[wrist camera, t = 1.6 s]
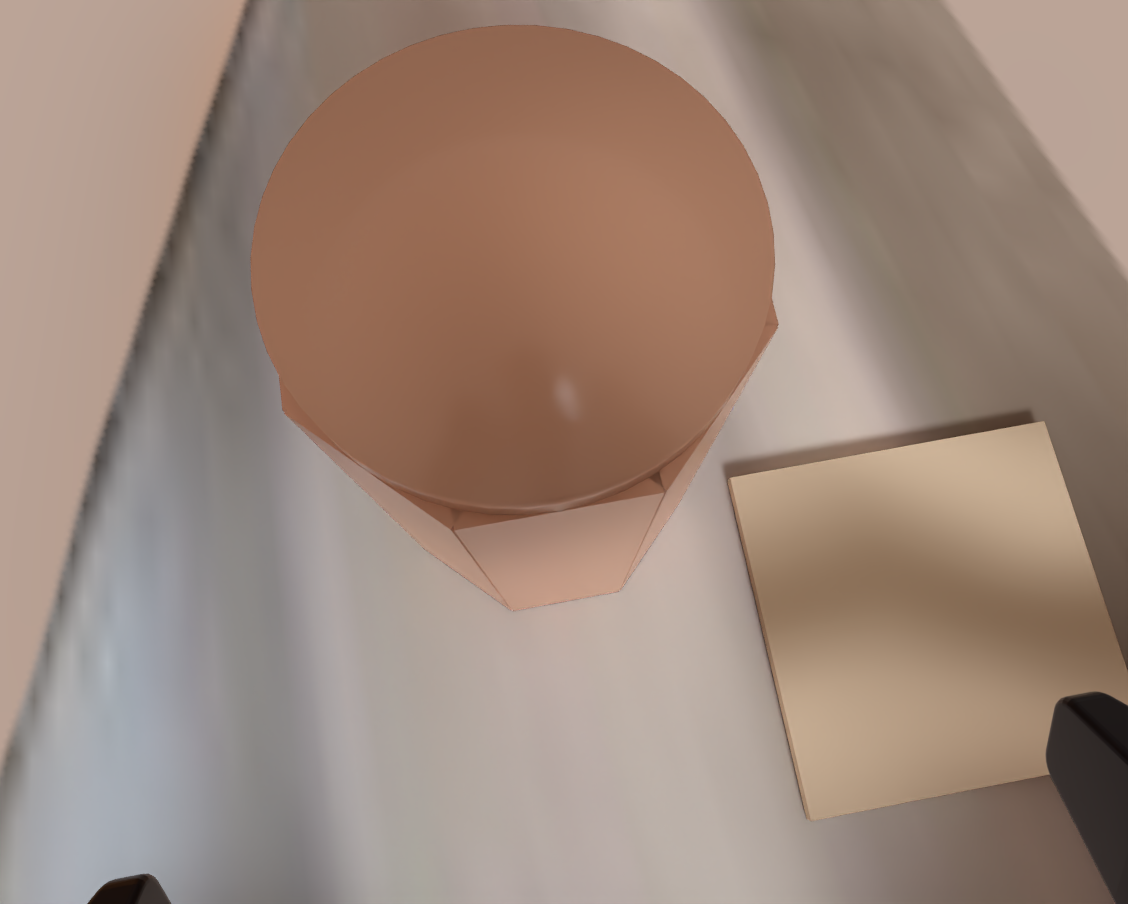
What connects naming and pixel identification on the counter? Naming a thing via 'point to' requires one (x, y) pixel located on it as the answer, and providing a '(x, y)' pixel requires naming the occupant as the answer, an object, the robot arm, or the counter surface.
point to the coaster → (923, 614)
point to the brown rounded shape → (516, 298)
